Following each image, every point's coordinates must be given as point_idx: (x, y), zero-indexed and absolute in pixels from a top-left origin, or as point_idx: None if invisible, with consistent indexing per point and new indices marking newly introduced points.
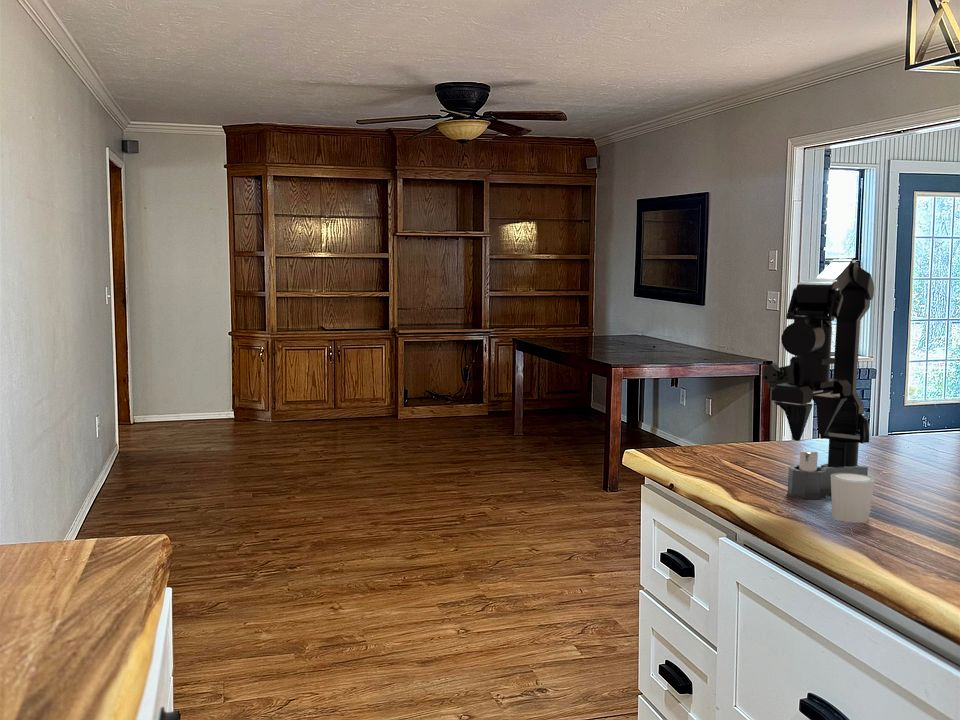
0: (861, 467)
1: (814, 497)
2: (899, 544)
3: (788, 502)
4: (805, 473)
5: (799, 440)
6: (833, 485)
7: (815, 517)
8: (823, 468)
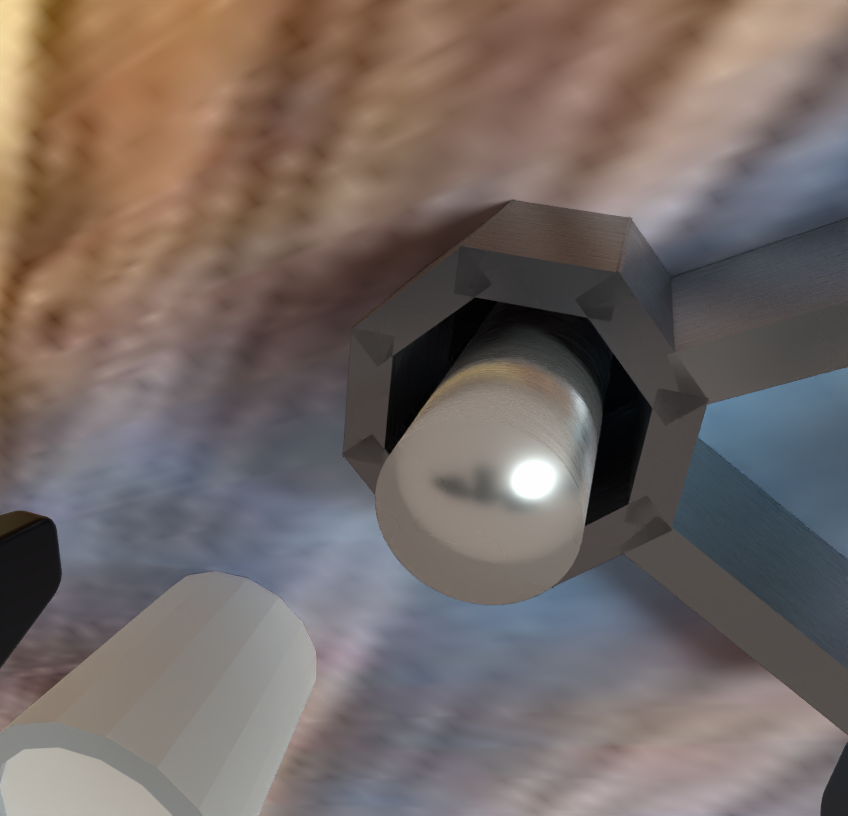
0: None
1: None
2: None
3: (274, 299)
4: (349, 443)
5: (52, 585)
6: (33, 704)
7: (112, 511)
8: (620, 545)
